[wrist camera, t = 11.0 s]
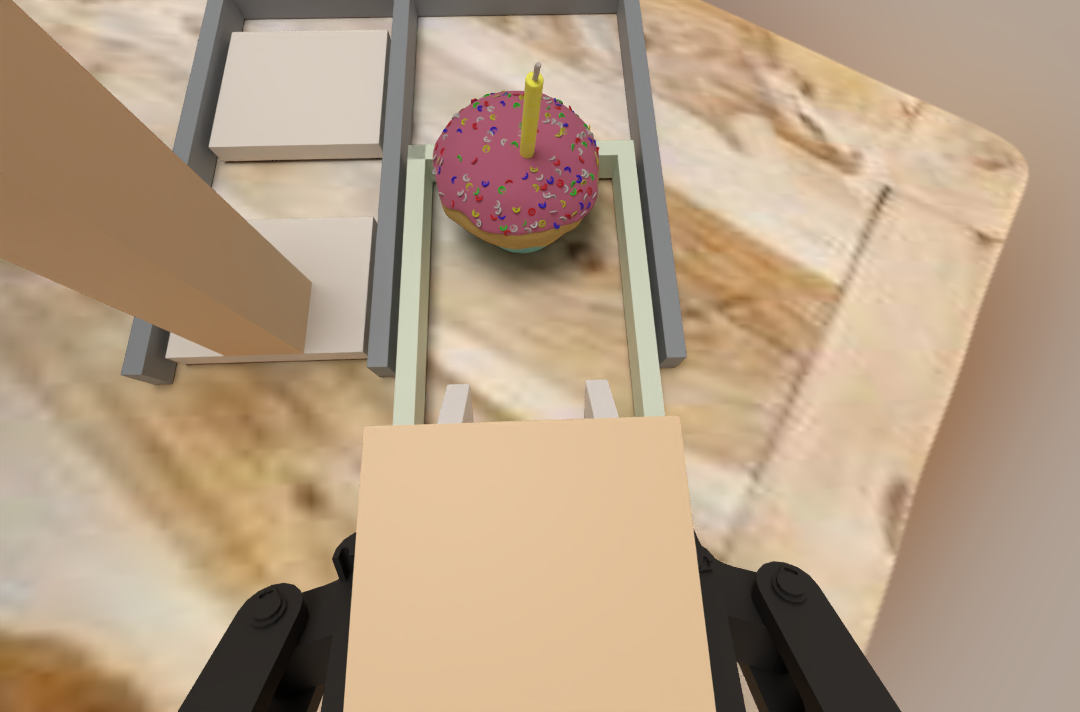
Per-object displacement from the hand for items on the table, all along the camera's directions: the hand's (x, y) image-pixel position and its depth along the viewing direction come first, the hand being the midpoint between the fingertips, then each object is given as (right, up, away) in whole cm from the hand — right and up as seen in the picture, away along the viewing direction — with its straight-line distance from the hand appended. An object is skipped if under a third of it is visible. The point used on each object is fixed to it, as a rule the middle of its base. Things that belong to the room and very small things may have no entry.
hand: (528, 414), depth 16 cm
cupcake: (-1, +10, +11) cm, 15 cm away
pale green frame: (0, +3, +9) cm, 9 cm away
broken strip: (-14, +12, +11) cm, 22 cm away
